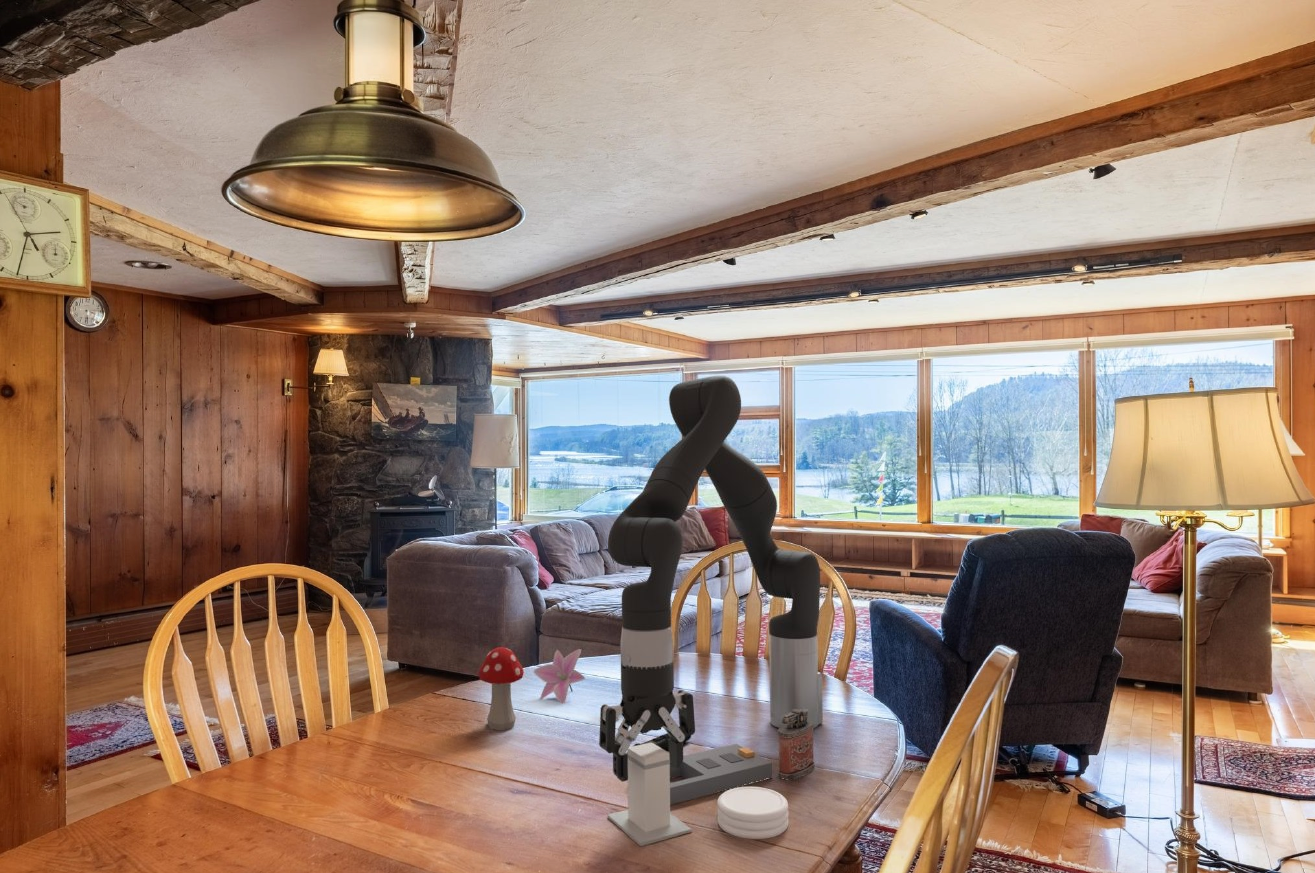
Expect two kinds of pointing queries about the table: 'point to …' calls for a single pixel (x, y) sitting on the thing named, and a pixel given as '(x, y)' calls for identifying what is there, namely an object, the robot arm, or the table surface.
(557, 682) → the lily
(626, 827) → the rubber mat
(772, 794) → the white short cylinder
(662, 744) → the electric trimmer
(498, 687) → the decorative mushroom
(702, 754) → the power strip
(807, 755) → the lighter
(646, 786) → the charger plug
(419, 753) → the table surface
